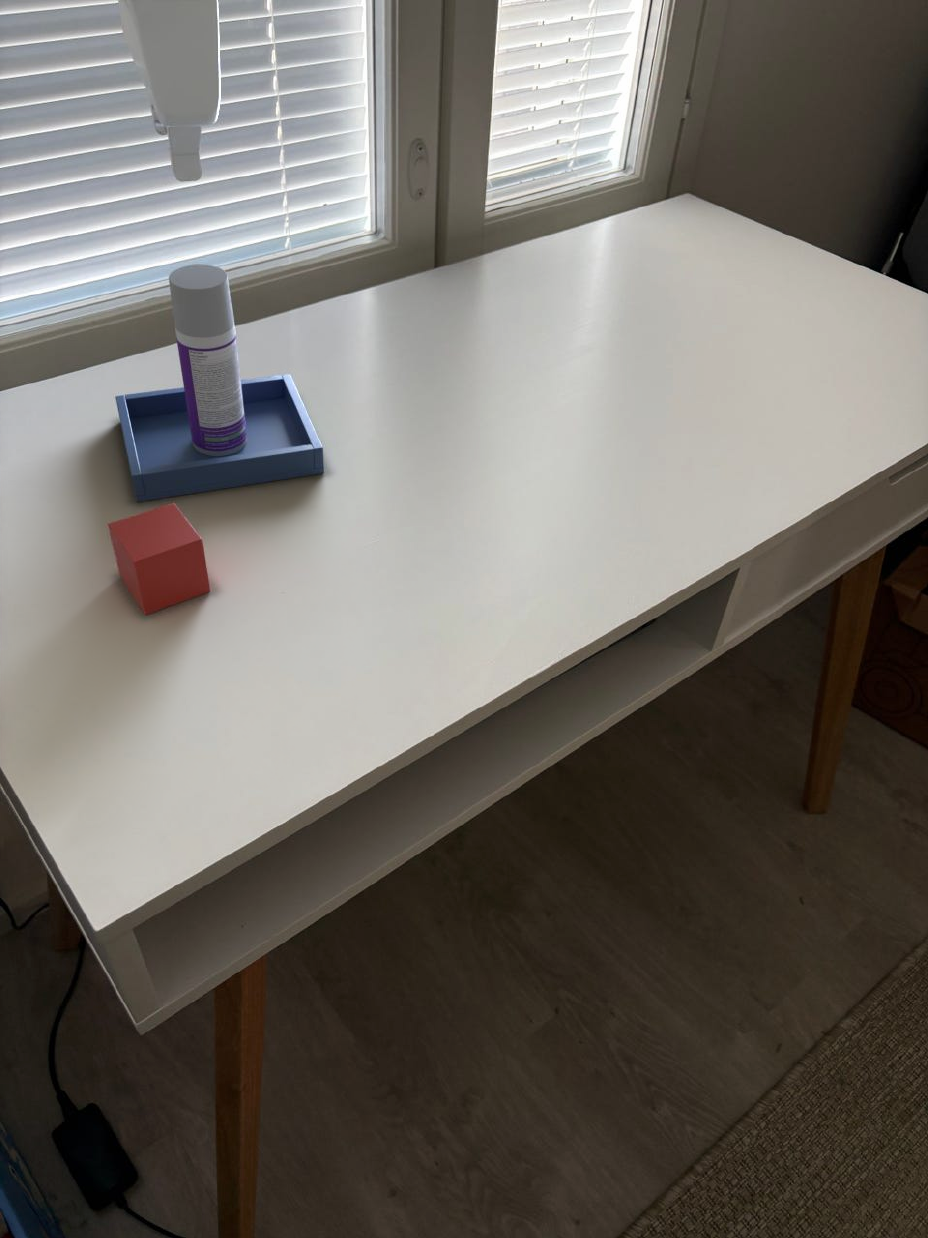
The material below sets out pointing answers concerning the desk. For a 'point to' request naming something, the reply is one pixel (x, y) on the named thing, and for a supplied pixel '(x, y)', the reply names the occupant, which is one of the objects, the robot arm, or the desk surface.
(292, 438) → the tray
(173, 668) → the desk surface
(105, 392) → the desk surface
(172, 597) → the red block
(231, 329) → the container
